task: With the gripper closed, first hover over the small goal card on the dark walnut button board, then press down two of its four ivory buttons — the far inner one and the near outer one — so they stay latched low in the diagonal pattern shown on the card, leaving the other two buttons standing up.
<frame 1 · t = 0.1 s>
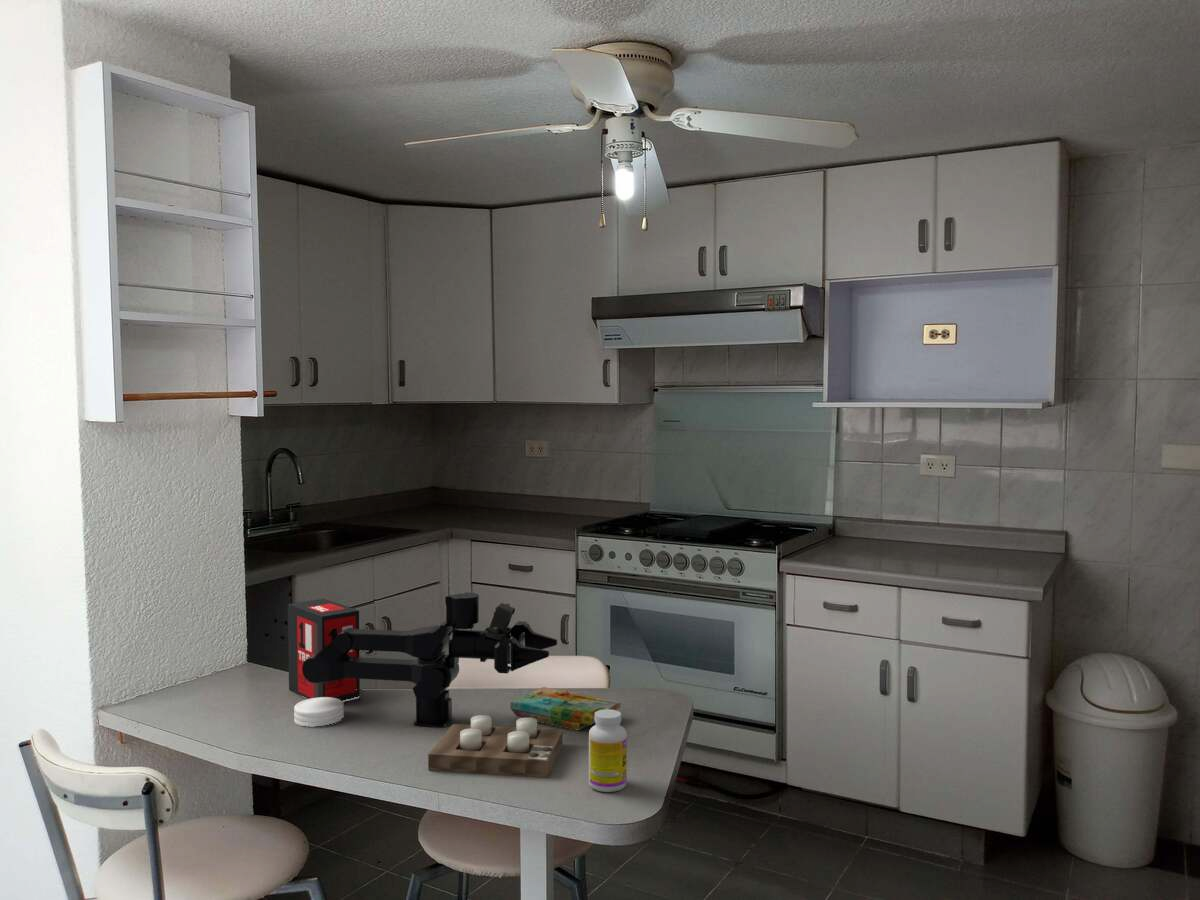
hand: (552, 648, 193), 17 cm above the table, tool horizontal, fingers open, 9 cm apart
cleaning product box: (323, 695, 215), on the table
puzzle game: (565, 721, 200), on the table
white short cylinder: (319, 721, 199), on the table
button near inner: (481, 725, 184), point 4 cm above the table, slide at 0.0 cm
button board: (498, 757, 178), on the table
supplement bottle: (607, 786, 166), on the table
button far outer: (518, 741, 175), point 4 cm above the table, slide at 0.0 cm
button far inner: (526, 727, 182), point 4 cm above the table, slide at 0.0 cm
button near outer: (470, 739, 176), point 4 cm above the table, slide at 0.0 cm
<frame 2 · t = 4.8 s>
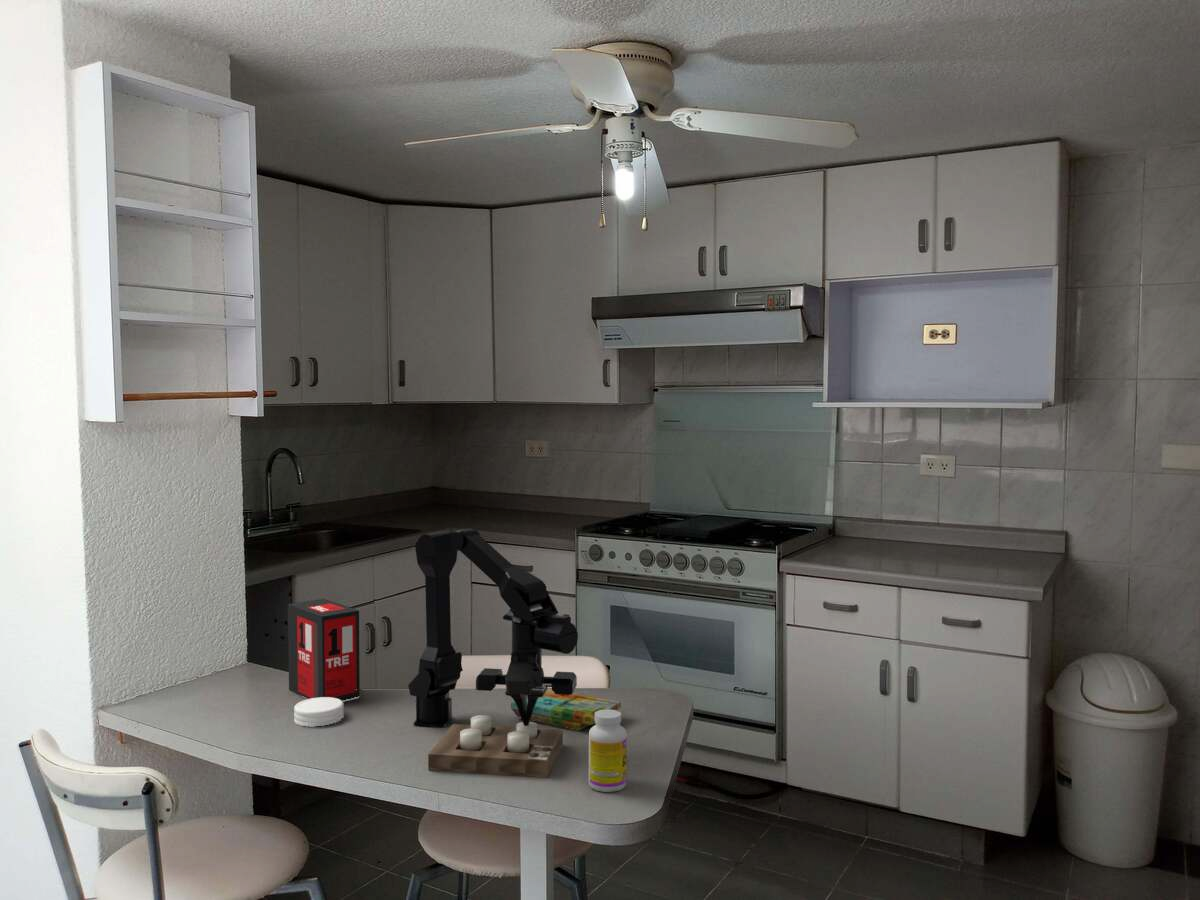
hand: (526, 725, 182), 5 cm above the table, tool pointing down, fingers closed, pressing on button far inner
button far inner: (526, 731, 182), point 3 cm above the table, slide at 0.8 cm, touching gripper
everything else where it was.
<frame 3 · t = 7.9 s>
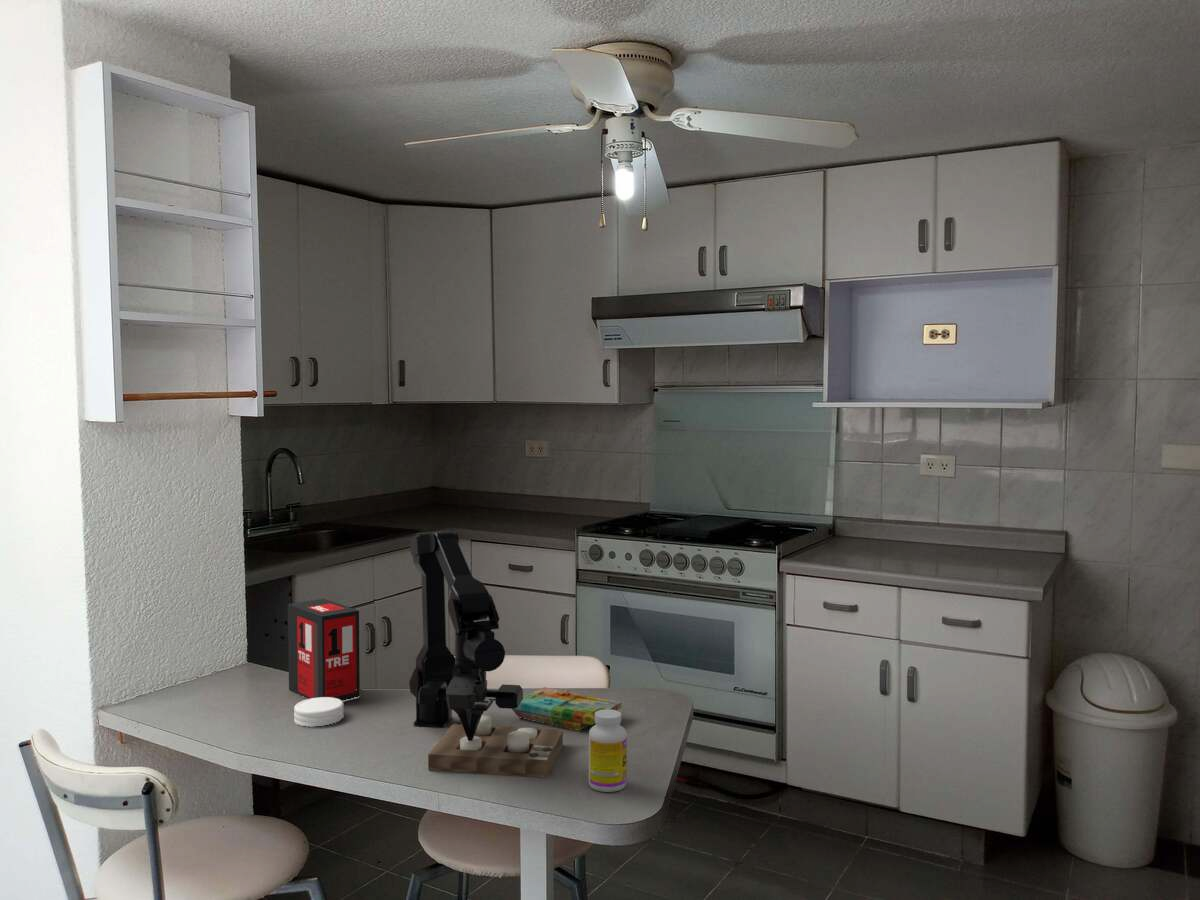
hand: (470, 739, 176), 4 cm above the table, tool pointing down, fingers closed, pressing on button near outer
button far inner: (526, 738, 182), point 2 cm above the table, slide at 2.0 cm
button near outer: (470, 747, 176), point 3 cm above the table, slide at 1.5 cm, touching gripper
everything else where it was.
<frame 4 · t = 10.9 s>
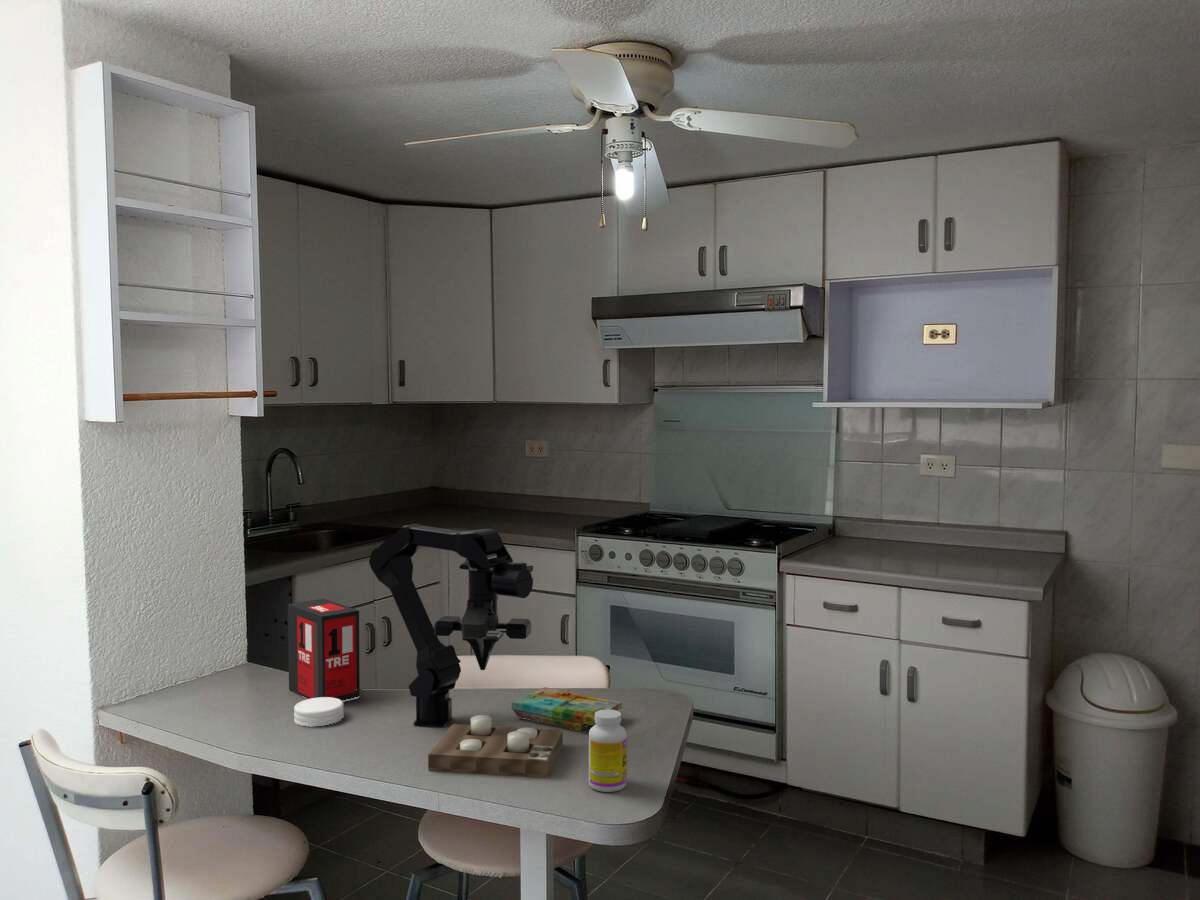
hand: (483, 669, 190), 13 cm above the table, tool pointing down, fingers closed
button near outer: (470, 749, 176), point 2 cm above the table, slide at 2.0 cm
everything else where it was.
at the end: button far inner slide at 2.0 cm; button near outer slide at 2.0 cm; button near inner slide at 0.0 cm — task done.
